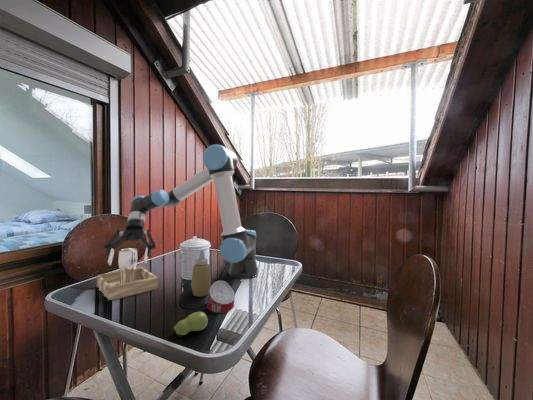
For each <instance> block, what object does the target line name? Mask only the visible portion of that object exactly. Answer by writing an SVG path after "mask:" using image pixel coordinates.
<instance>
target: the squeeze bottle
mask: <svg viewBox="0 0 533 400" xmlns="http://www.w3.org/2000/svg"><path fill="white" fill-rule="evenodd" d="M208 261H209V260H208V258H206V256H205V250H203V249H202V250H200V252H199V257H198V258H197V259H195V264H194V265H193V266H192V274H191V280H190V281H191V282H190V288H191V291H192V294H193V296H194V297H198V298H199V297H205V296H207V295H208V294H209V290H210V287H211V285H212V280H211V279H212V277H211V265H210V264H209V262H208Z"/></svg>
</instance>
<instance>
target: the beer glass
mask: <svg viewBox="0 0 533 400" xmlns="http://www.w3.org/2000/svg"><path fill="white" fill-rule="evenodd" d="M117 264H118V269H119V270H118V271H120V283H119V285H121V284H125V283H130V282H135V271H136V268H137V265H138V249H137V248H135V247H127V248H126V247H124V248H121V249H119V252H118V263H117Z"/></svg>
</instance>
